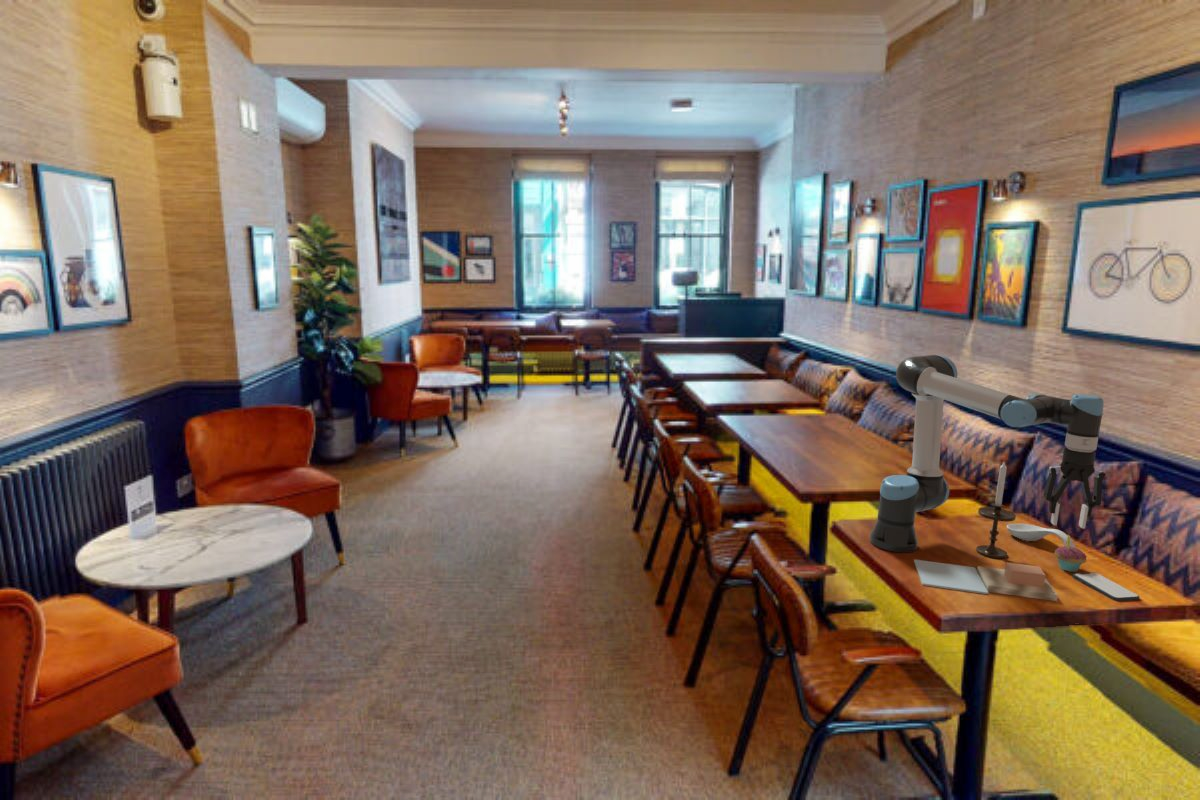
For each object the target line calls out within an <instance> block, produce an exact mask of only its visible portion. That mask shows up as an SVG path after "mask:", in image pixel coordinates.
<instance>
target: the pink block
mask: <svg viewBox="0 0 1200 800" xmlns="http://www.w3.org/2000/svg"><path fill="white" fill-rule="evenodd" d="M1004 570H1005V572H1004V575H1005V577H1006V578H1007V580H1008V582H1009V583H1014V584H1021V585H1029V586H1036V587H1043V588H1044V582H1045V578H1046V577H1047V574H1045V572H1044V570H1043V569H1042V568H1041V567H1040V566H1038V565H1030V564H1022V563H1015V562H1014V563H1013V562H1008V561H1007V562H1005V565H1004Z"/></svg>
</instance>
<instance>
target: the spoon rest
mask: <svg viewBox="0 0 1200 800" xmlns="http://www.w3.org/2000/svg"><path fill="white" fill-rule="evenodd" d="M1006 530H1008V532H1009V533H1010V534H1011V535H1012V536H1013V537H1015V538H1016V537H1017V539H1018V538H1019V539H1018V540H1020V539H1022V540H1021V541H1024V540H1025V541H1024V542H1029V541H1034V542H1036V541H1039V540H1041V539H1044V538H1045V537H1047V536H1048V535H1055V537H1058V538H1059V539H1060V540H1062V542H1063V546H1067V541H1068V534H1066V533H1065V532H1064V531H1062V530H1060V529H1056V528H1045V527H1041V526H1038V525H1034V524H1028V523H1010V524H1007V525H1006ZM1070 546H1071V547H1075V548H1077V547H1076V544H1075V543H1074V541H1073V539H1072V538H1071V537H1070Z"/></svg>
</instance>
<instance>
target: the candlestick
mask: <svg viewBox="0 0 1200 800" xmlns="http://www.w3.org/2000/svg"><path fill="white" fill-rule="evenodd" d="M1006 453H1007V454H1005V455H1004V458H1003V460H1002V465H1000V467H999V473H998V480H997V486H996V492H995V493H996V494H995V500H994V502H995V503H994V502H991V504H990V505H991V506H992V507H991V506H982V507H979V508H978V510H977V513H978V515H979V516H981V517H983V518H985V519H988V520H993V522H992V528H991V529H990V530H989V531H988V533H989V534H990V537H989V538H988V540H990V542H989V545H987V544H985V545H983V544H982V545H978V546H976V548H975V550H976V553H978V554H979V555H980V556H984V557H986V558H990V559H996V560H1003V559H1006V558H1007V555H1008V552H1007V551H1006V550H1004V549H1003V548H1001V547H997V546H996V542H997V541H998V538H997V536H998V535H999V534H1000V531H998V524H999V522H1006V523H1008V522H1013V521H1015V520H1016V517H1017V515H1016V514H1015V512H1012V511H1010V510H1007V509H1004V508H1006V506H1005V505H1004V504H1003V497H1004V496H1003V495H1004V489H1005V482H1006V475H1007V469H1008V467H1007V465H1006V462H1007V461H1006V460H1008V454H1009V453H1008V452H1006Z"/></svg>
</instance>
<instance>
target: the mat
mask: <svg viewBox="0 0 1200 800" xmlns="http://www.w3.org/2000/svg"><path fill="white" fill-rule="evenodd" d="M913 563H914V565H915V568H916V571H917V574H918V578H919V580H920V582H921V586H927V587H934V588H941V589H947V590H954V591H961V592H967V593H974V594H975V593H976V594H982V595H989V592H988V591H987V589H986V587H985V585H984V583H983V582H982V580H981V578H980V576H979V574H978V572H977V569H976V567H974V566H968V565H959V564H953V563H942V562H938V561H937V562H936V561H928V560H921V559H913Z"/></svg>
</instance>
